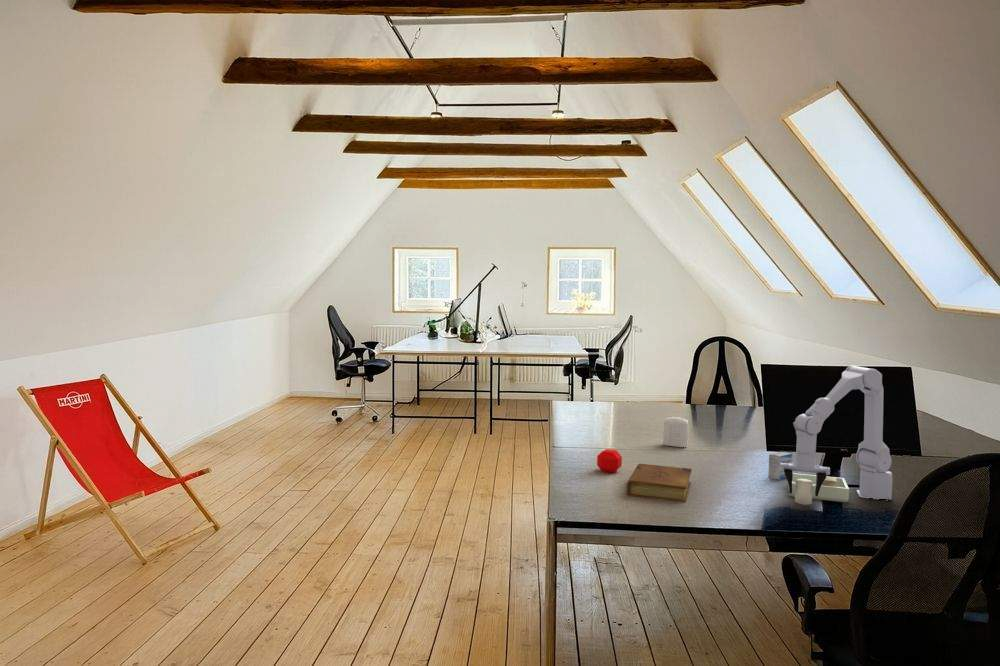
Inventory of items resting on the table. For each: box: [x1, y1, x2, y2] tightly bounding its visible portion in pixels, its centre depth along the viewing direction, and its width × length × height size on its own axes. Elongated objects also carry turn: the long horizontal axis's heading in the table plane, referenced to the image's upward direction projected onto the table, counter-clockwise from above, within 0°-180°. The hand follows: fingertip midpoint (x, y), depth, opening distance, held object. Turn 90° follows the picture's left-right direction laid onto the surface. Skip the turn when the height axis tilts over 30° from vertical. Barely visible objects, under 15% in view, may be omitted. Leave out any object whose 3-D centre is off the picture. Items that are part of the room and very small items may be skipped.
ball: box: [596, 448, 623, 474], centre depth 269 cm, size 8×8×8 cm
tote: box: [787, 472, 850, 503], centre depth 246 cm, size 18×14×4 cm
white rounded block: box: [662, 416, 690, 449], centre depth 311 cm, size 10×4×12 cm, turn 67°
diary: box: [626, 463, 692, 503], centre depth 248 cm, size 23×19×6 cm
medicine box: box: [767, 451, 793, 481], centre depth 265 cm, size 8×4×9 cm, turn 126°
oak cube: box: [822, 476, 837, 487], centre depth 244 cm, size 5×5×5 cm
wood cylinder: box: [794, 479, 813, 506], centre depth 236 cm, size 5×5×7 cm
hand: (803, 493), depth 236 cm, fingers open, 7 cm apart
